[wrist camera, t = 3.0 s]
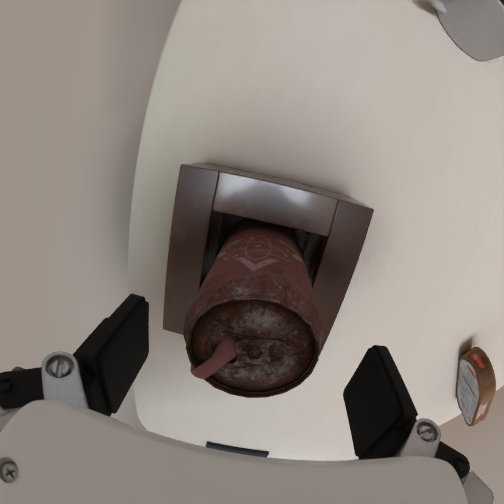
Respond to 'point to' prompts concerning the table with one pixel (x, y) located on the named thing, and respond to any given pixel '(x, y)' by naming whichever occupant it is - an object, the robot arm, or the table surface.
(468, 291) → the table surface
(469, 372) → the tin
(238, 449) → the mat
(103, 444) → the robot arm
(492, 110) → the table surface
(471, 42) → the mug
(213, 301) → the can
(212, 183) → the holder
